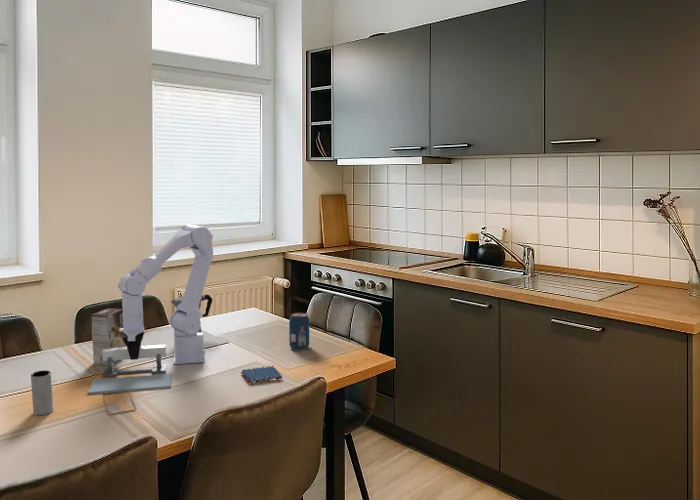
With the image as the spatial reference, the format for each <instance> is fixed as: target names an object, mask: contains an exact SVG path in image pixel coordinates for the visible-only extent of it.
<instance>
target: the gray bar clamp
mask: <svg viewBox="0 0 700 500" xmlns="http://www.w3.org/2000/svg"><path fill="white" fill-rule="evenodd" d="M162 358H163V357H160V356H156V357H155V360H156V362H155V364H153V365H152V367H134V368H123V369H121V368H120V367H114V363H115V362H114V360H112V359H107V364H106V368H104V370H103V372H102V378H118V375H124V374H125V375H128V374H139V373H151V375H159V374H166V373H167V366H168V365H167V363H163V364H162ZM113 362H114V363H113Z"/></svg>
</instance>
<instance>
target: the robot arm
mask: <svg viewBox="0 0 700 500" xmlns="http://www.w3.org/2000/svg"><path fill="white" fill-rule="evenodd" d="M213 237H214V236H213V234H212V233H211V231H210V230H209V229H208V228H207V227H206V226H202V225H199V226H198V225H194V224H189V223H187V224H185V225H183V226H182V227H181V228H180V229H179V230H177V231H176V232H175V234H174V235H173V236H172V237H171V239H170V240H168V241H167V242H166V244H165V245H163V247H161V248H160V250H159V251H157V252H156V254H155V255H154V256H147V257H143V258H142V259H141V260H140V262H141V263H139V264H138V265H137V266H136V267H135V268H134V269H130V270H129V273H128V274H124V275H122V277H121V278H120V280H119V283H117V287H118V289H119V290H120V292H121V298H122V299H121V302H122V303H121V304H122V305H121V307H122V309H123V327H124V328H120V329H119V331H120V332H124V333H125V336H126V337H123V341H124V343H125V344H126V347H127V349H128V352H129V356H130V359H129V360H133V361H134V360H136V361H137V360H139V359H138V357H139V349H140V346H142V341H143V339H144V335H145V333H146V331H145V326H144V309H143V305H144V304H143V292H145V289H146V285H147V284H148V283H150V281H151V280H152V279H153V278H155V277H156V276H157V275H158V274H160V272H162V268H163V267H162V266H163V264H164V263H165V262H166V261H169V259H170V258H171V257H173V256H174V255H175V254H176V253H178V251H180V250H181V249H185V248H190V250H191V251H192V253H193V254H194V258H193V263H192V266H191V269H190V273H189V276H188V280H187V283H186V287H185V291H184V293H183V296H184V297H183V300H182V302H181V303H180V304H179V305H178V306H177V308H176V307H175V311H174V312H173V314H172V315H171V316H170V319H169V323H170V326H171V328H172V329H173V341H174V343H173V344H174V356H173V363H172V364H173V365H182V364H196V363H197V364H199V363H204V362H205V356H206V352H205V351H206V349H204V348H205V347H204V332H202V333H198V331H199V329H200V326H201V325H202V324H201V316H202V312H201V308H200V309H199V303H200V299H201V296H202V295H203V293H204V288H205V285H206V281H207V278H208V274H209V271H210V267H211V264H212V260H213V257H214V249H213Z"/></svg>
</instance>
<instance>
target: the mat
mask: <svg viewBox="0 0 700 500" xmlns="http://www.w3.org/2000/svg"><path fill="white" fill-rule="evenodd" d="M172 379H173V373H167V374H166V373H163V374H151V375H141V376H140V375H139V376H138V375H137V376H125V377H108V378H100V379H93V380H92V383H91V384H90V387H89V389H88V391H87V395H95V394H107V393H113V392H119V391H129V392H135V391H147V390H159V389H171V388H172Z"/></svg>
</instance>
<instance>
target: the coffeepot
mask: <svg viewBox="0 0 700 500" xmlns="http://www.w3.org/2000/svg"><path fill="white" fill-rule="evenodd" d="M183 297H184V295H182V296H179V297H176V299H173V300H171V301H170V303H171V304H172V305H173V306H174V307H175V309H176V308H177V306H178V305H179V304H180V303H181V302H182V300H183ZM205 300H207V302H206V307H205V311H204V312H205V313H204V314H201V316H202V318H205V317H208V316H209V314H210V310H211V307H212V304H213V303H212V302H213V298H212V297H211V295H209V294H202V296H201V299H200V303H199V309H200V310H201V306H202V302H203V301H205ZM198 333H203V332H202V327H201V326H200V329H199V331H198Z"/></svg>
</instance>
